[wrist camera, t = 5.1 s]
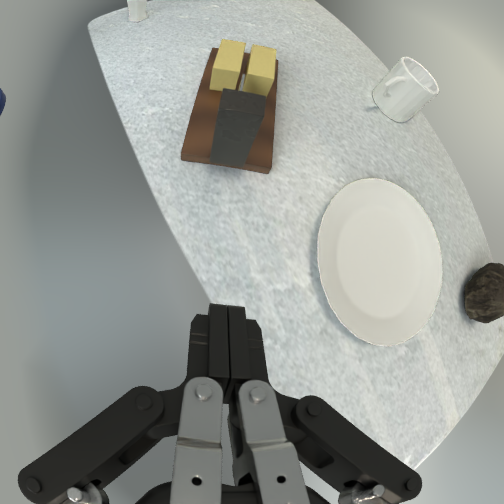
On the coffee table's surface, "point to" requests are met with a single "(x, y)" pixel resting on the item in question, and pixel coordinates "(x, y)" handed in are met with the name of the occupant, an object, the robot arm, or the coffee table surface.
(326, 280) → the plate
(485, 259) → the coffee table surface
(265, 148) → the slicer board
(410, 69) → the mug
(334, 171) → the coffee table surface
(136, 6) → the white faceted vase
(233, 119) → the knife
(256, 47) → the butter
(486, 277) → the rock
